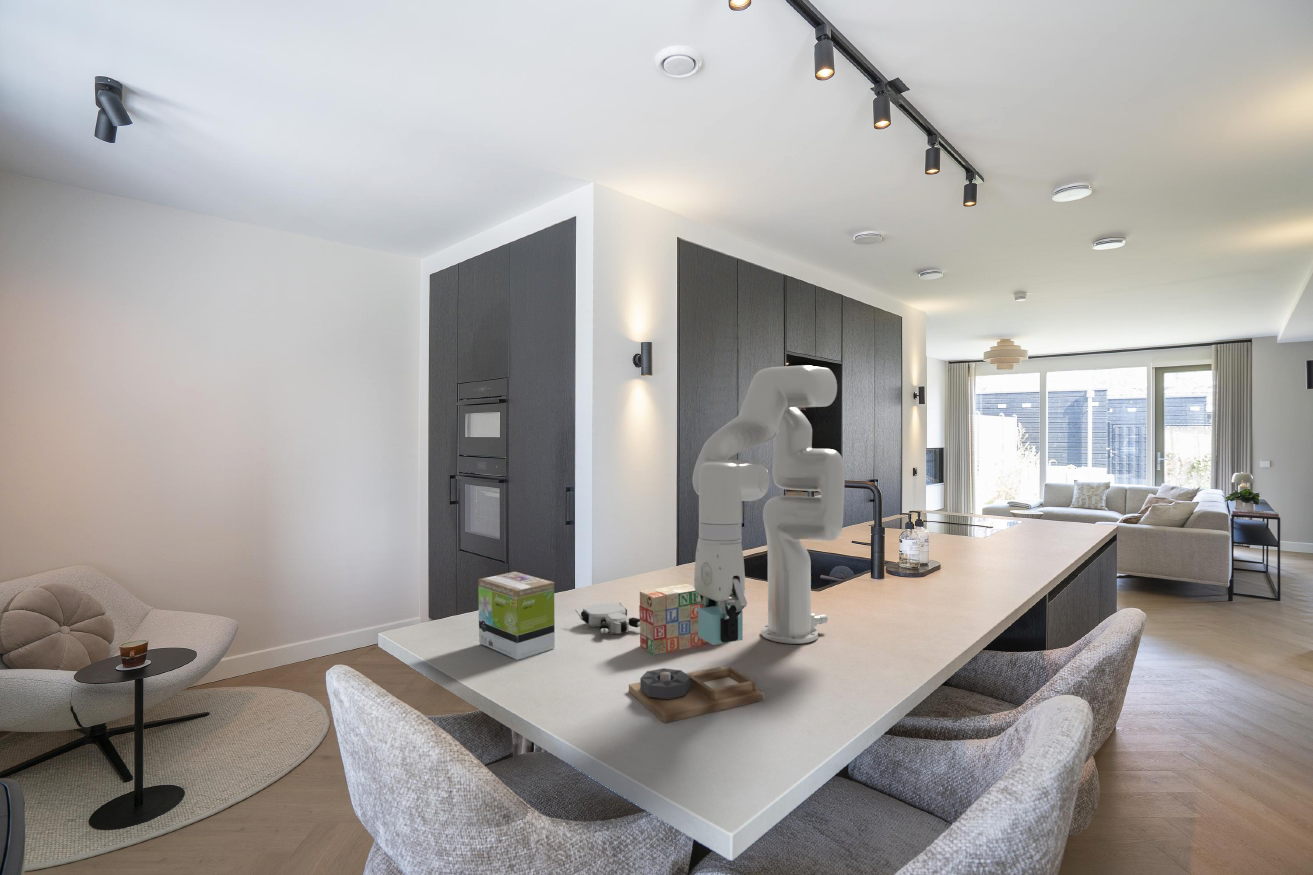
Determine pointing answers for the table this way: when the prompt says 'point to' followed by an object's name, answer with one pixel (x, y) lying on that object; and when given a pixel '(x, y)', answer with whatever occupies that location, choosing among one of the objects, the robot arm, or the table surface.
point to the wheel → (665, 684)
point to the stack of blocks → (670, 618)
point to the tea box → (516, 614)
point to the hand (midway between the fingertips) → (720, 635)
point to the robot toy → (608, 617)
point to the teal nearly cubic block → (714, 624)
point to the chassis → (702, 694)
